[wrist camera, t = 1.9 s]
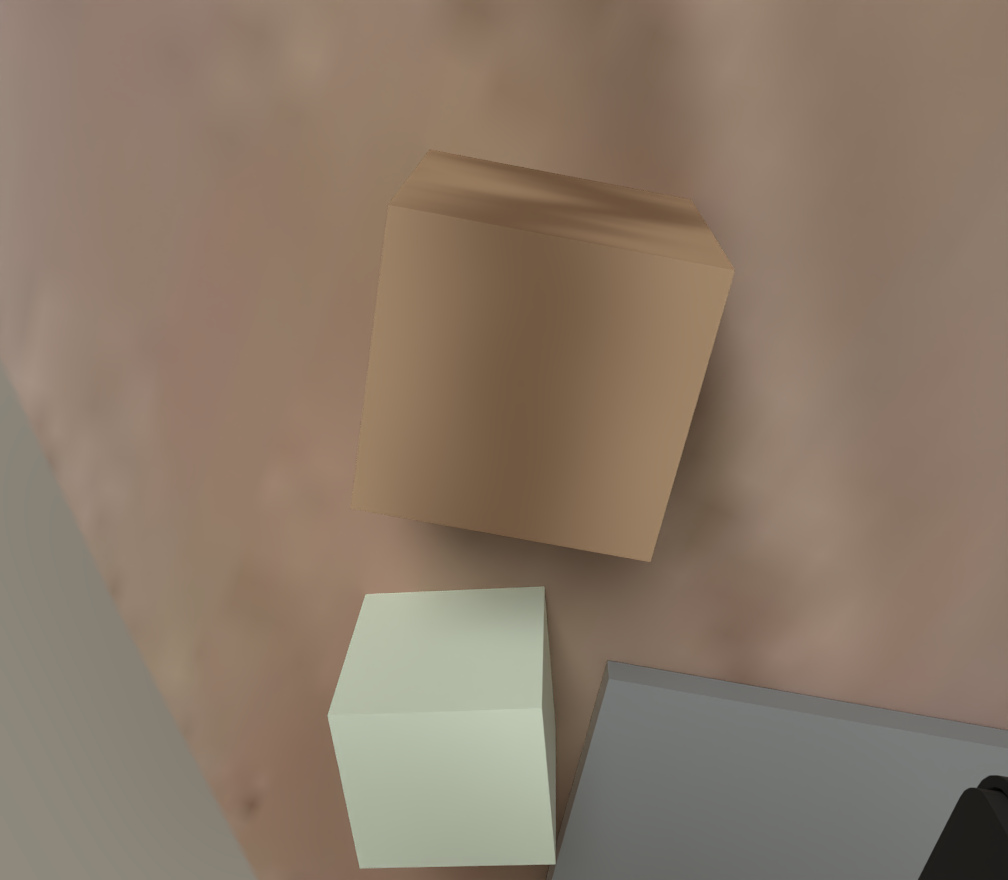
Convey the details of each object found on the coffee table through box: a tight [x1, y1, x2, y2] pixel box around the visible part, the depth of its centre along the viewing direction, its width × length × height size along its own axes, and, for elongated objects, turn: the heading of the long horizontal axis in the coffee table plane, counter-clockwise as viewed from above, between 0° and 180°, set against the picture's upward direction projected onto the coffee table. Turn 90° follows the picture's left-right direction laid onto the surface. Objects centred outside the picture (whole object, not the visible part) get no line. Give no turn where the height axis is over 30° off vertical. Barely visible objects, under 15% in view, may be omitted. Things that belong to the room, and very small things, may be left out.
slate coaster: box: [546, 661, 1008, 880], centre depth 30 cm, size 12×12×1 cm
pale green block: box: [328, 586, 556, 868], centre depth 25 cm, size 5×5×5 cm
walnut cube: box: [350, 150, 735, 562], centre depth 20 cm, size 6×6×6 cm
